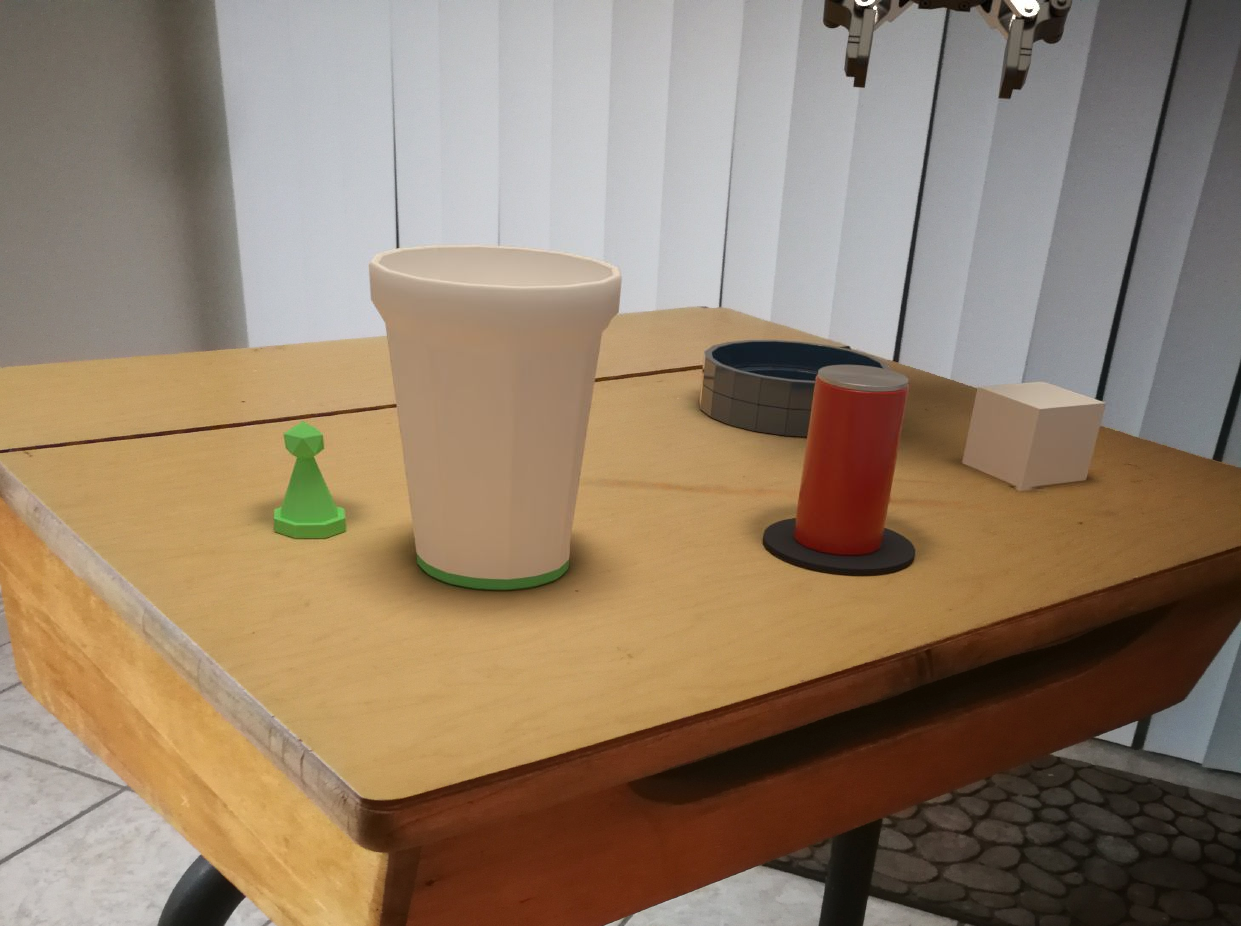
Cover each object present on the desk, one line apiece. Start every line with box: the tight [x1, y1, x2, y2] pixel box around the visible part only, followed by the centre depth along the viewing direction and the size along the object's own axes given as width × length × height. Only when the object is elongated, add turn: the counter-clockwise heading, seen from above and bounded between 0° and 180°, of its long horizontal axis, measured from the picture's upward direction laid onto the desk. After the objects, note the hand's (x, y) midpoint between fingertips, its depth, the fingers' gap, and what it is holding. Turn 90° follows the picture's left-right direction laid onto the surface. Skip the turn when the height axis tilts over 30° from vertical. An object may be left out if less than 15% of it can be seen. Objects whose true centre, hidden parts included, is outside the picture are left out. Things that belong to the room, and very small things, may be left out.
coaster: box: [762, 517, 916, 576], centre depth 77 cm, size 9×9×1 cm
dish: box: [698, 339, 893, 438], centre depth 101 cm, size 14×14×4 cm
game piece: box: [273, 420, 347, 539], centre depth 74 cm, size 4×4×6 cm
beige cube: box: [961, 381, 1107, 492], centre depth 90 cm, size 6×6×6 cm
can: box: [794, 365, 910, 556], centre depth 75 cm, size 5×5×10 cm
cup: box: [368, 244, 623, 591], centre depth 68 cm, size 12×12×15 cm
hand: (933, 82), depth 76 cm, fingers open, 8 cm apart
